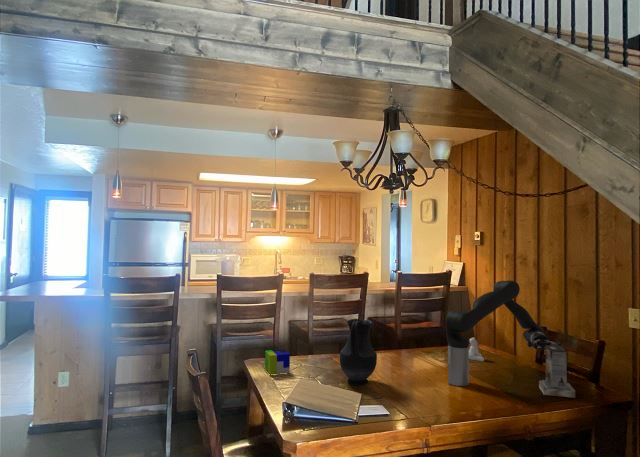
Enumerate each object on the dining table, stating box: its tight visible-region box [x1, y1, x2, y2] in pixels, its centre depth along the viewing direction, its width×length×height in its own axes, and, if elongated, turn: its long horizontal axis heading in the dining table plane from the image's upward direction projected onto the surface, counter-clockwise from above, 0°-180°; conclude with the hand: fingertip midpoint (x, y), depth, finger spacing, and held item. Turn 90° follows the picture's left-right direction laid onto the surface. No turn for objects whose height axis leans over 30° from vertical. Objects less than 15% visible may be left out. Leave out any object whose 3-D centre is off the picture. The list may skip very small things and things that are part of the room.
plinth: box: [538, 379, 576, 399], centre depth 189 cm, size 12×11×3 cm
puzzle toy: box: [264, 348, 291, 375], centre depth 216 cm, size 10×10×10 cm
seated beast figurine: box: [468, 337, 485, 363], centre depth 241 cm, size 10×9×12 cm
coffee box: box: [544, 345, 568, 388], centre depth 189 cm, size 9×6×16 cm
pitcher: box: [339, 318, 378, 386], centre depth 200 cm, size 17×21×30 cm
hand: (546, 347), depth 201 cm, fingers open, 8 cm apart
